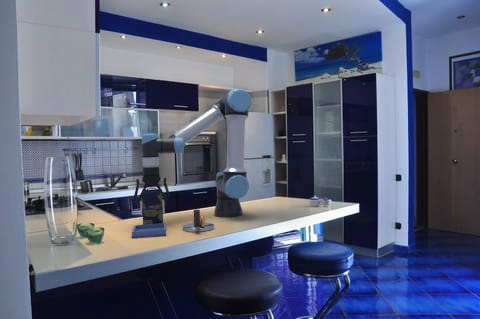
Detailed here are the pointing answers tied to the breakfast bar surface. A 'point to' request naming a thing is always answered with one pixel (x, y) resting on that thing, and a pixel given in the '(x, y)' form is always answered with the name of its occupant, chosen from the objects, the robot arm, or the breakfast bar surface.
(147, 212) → the canister
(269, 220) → the breakfast bar surface
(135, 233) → the tray
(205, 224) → the crank base
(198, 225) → the crank
